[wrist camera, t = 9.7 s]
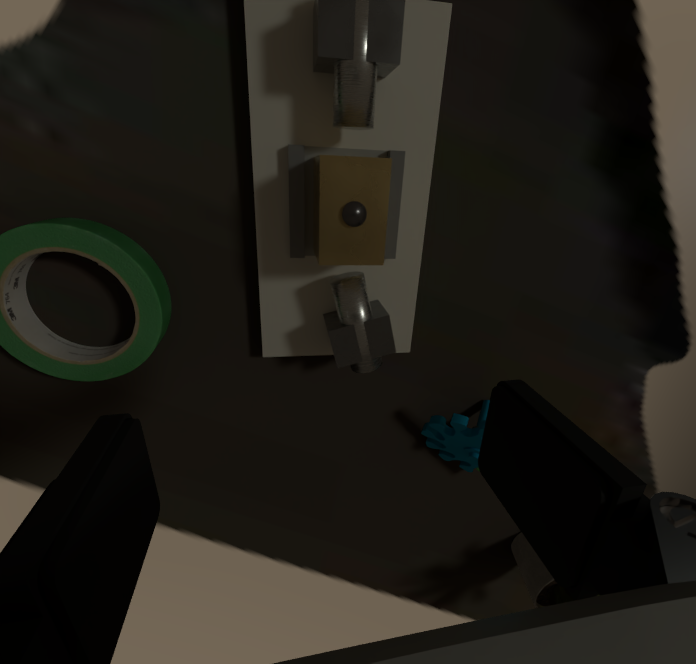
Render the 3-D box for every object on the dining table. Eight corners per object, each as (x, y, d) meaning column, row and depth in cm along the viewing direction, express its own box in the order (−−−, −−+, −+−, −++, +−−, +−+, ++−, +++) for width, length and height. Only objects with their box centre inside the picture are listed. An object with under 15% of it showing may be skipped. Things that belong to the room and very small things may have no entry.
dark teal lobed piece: (401, 421, 33) (519, 438, 27) (422, 369, 36) (532, 372, 30) (446, 478, 39) (551, 503, 33) (460, 429, 42) (559, 443, 36)
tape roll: (118, 389, 30) (104, 409, 28) (-32, 304, 26) (-65, 318, 23) (203, 290, 28) (195, 302, 25) (54, 180, 24) (28, 181, 21)
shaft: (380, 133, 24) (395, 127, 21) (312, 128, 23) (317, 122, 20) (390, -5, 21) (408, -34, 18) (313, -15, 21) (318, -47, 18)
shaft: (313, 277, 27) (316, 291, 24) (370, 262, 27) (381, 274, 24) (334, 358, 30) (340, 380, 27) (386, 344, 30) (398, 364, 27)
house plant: (584, 474, 43) (743, 635, 28) (598, 542, 49) (735, 705, 34) (471, 525, 43) (569, 711, 28) (498, 587, 49) (591, 767, 34)
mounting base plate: (263, 350, 30) (262, 361, 28) (244, -14, 21) (241, -31, 19) (405, 345, 32) (412, 356, 30) (444, 11, 23) (458, -2, 21)
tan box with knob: (313, 157, 24) (320, 154, 20) (374, 160, 25) (393, 158, 20) (313, 250, 26) (319, 266, 22) (368, 250, 27) (384, 266, 23)
